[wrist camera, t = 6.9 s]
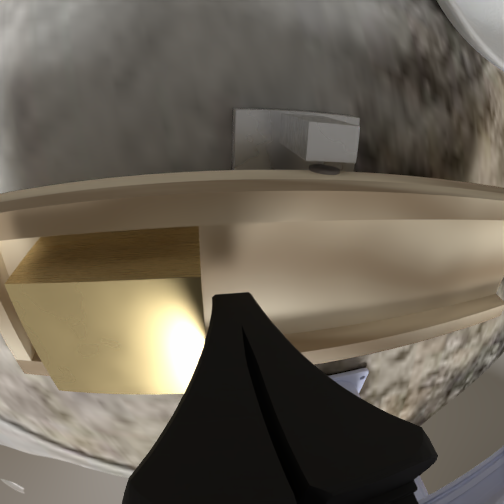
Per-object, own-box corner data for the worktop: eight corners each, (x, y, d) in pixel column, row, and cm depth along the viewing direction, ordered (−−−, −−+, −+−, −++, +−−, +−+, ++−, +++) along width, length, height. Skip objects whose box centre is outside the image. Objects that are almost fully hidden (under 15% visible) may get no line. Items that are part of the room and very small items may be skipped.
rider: (206, 334, 13) (211, 391, 10) (75, 337, 12) (59, 390, 9) (198, 226, 10) (200, 276, 8) (40, 237, 9) (4, 284, 7)
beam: (475, 292, 18) (499, 317, 16) (41, 333, 14) (25, 374, 11) (511, 185, 14) (544, 204, 11) (-8, 189, 10) (-46, 217, 7)
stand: (322, 304, 20) (349, 354, 16) (231, 313, 19) (243, 370, 15) (350, 115, 14) (403, 130, 10) (232, 108, 13) (250, 116, 9)
